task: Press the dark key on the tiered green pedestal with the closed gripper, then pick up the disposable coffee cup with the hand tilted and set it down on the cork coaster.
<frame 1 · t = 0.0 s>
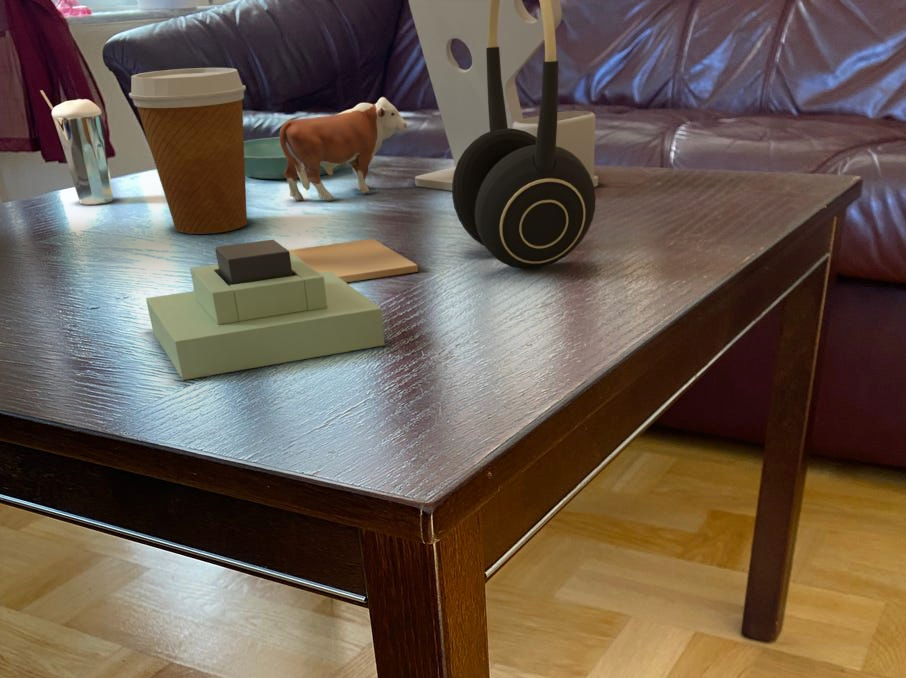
key: (254, 264, 60), point 4 cm above the table, slide at 0.1 cm
disposable coffee cup: (212, 228, 91), on the table
headphones: (522, 262, 77), on the table
bull figurine: (347, 196, 101), on the table
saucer: (291, 173, 114), on the table
milkshake: (93, 203, 103), on the table
phone holder: (505, 187, 102), on the table
tiered green pedestal: (265, 339, 63), on the table
coaster: (332, 266, 77), on the table
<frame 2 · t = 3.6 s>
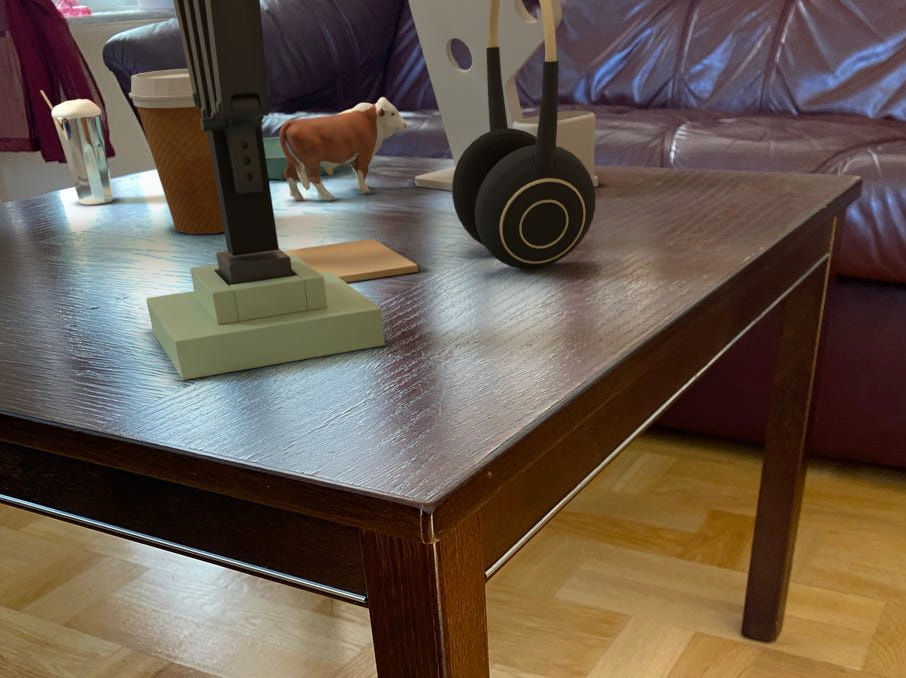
hand: (253, 249, 60), 5 cm above the table, tool pointing down, fingers closed
key: (254, 269, 60), point 4 cm above the table, slide at -0.3 cm, touching gripper
everything else where it was.
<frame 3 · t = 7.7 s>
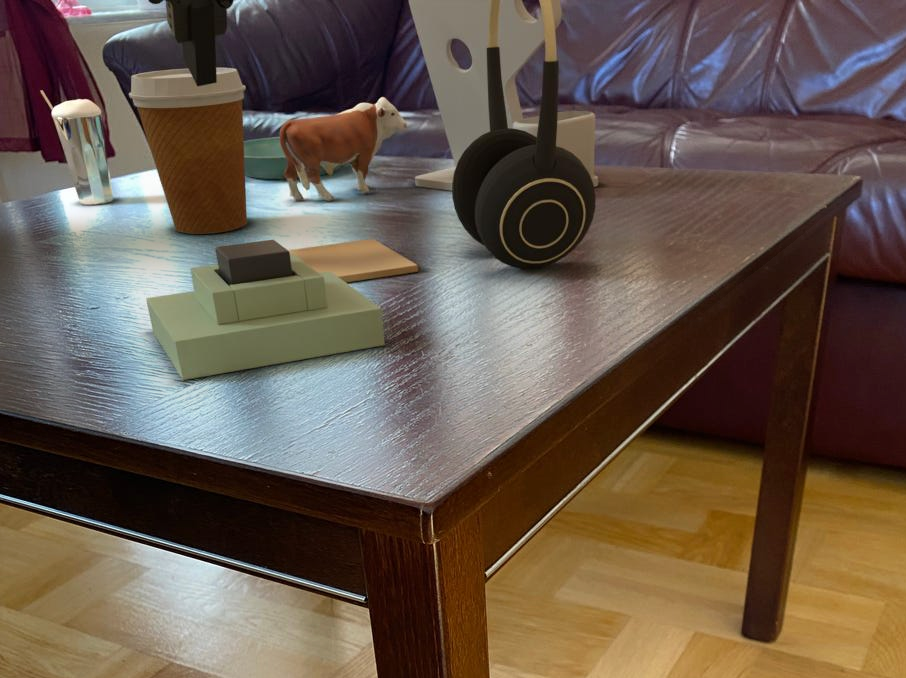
hand: (199, 69, 75), 13 cm above the table, tool tilted 40°, fingers closed
key: (254, 264, 60), point 4 cm above the table, slide at 0.1 cm
everything else where it was.
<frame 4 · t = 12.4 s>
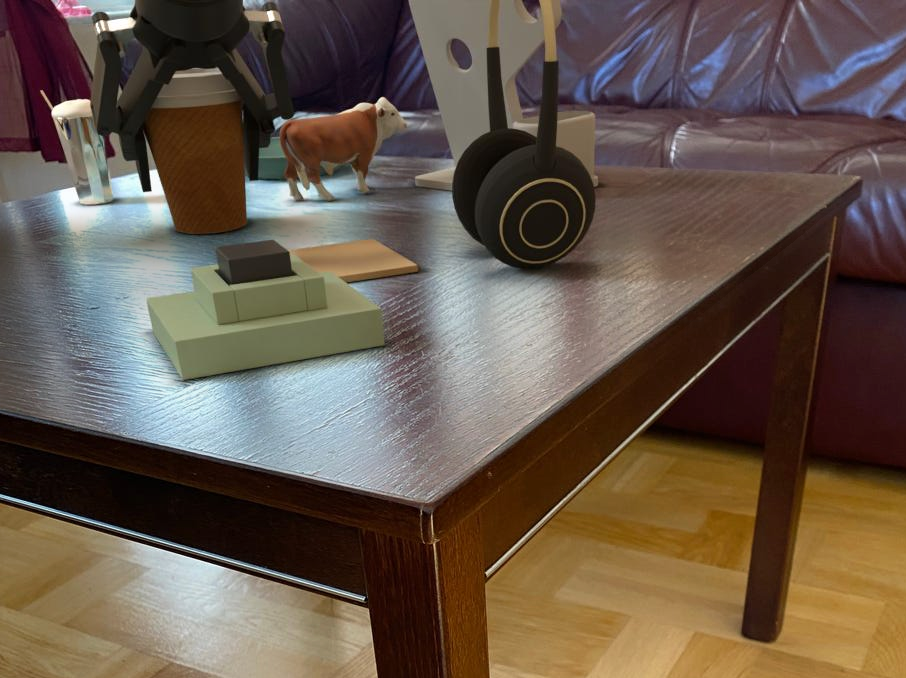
hand: (197, 173, 91), 4 cm above the table, tool tilted 45°, fingers closed on disposable coffee cup, 9 cm apart
disposable coffee cup: (212, 228, 91), on the table, touching gripper
everything else where it was.
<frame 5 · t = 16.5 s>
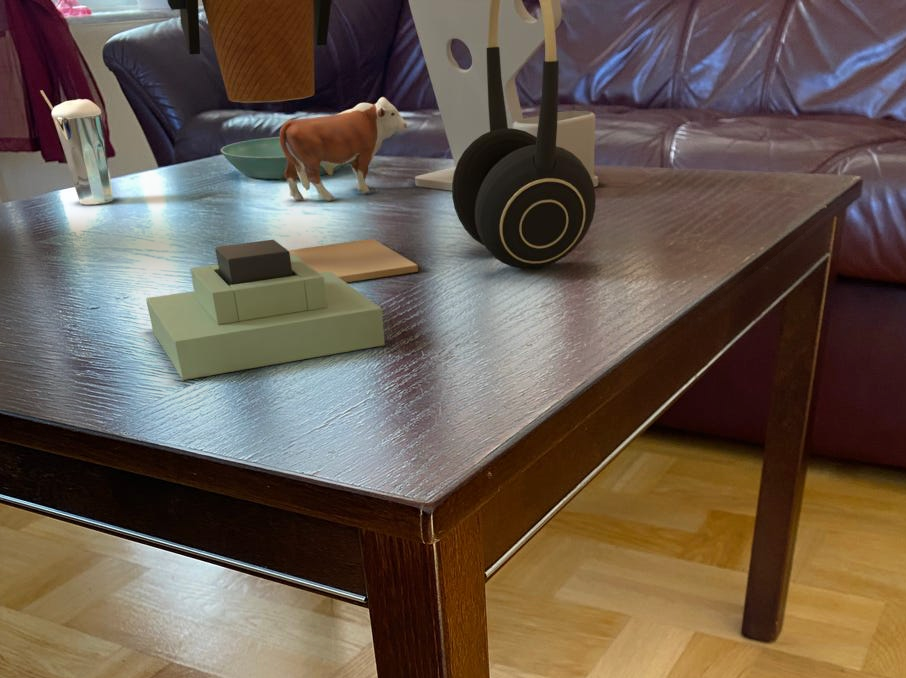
hand: (254, 34, 75), 15 cm above the table, tool tilted 45°, fingers closed on disposable coffee cup, 9 cm apart
disposable coffee cup: (272, 100, 75), point 11 cm above the table, touching gripper
everything else where it was.
when the fingers open (4 cm above the table, at t = 20.6 s): disposable coffee cup stays where it is, resting on coaster.
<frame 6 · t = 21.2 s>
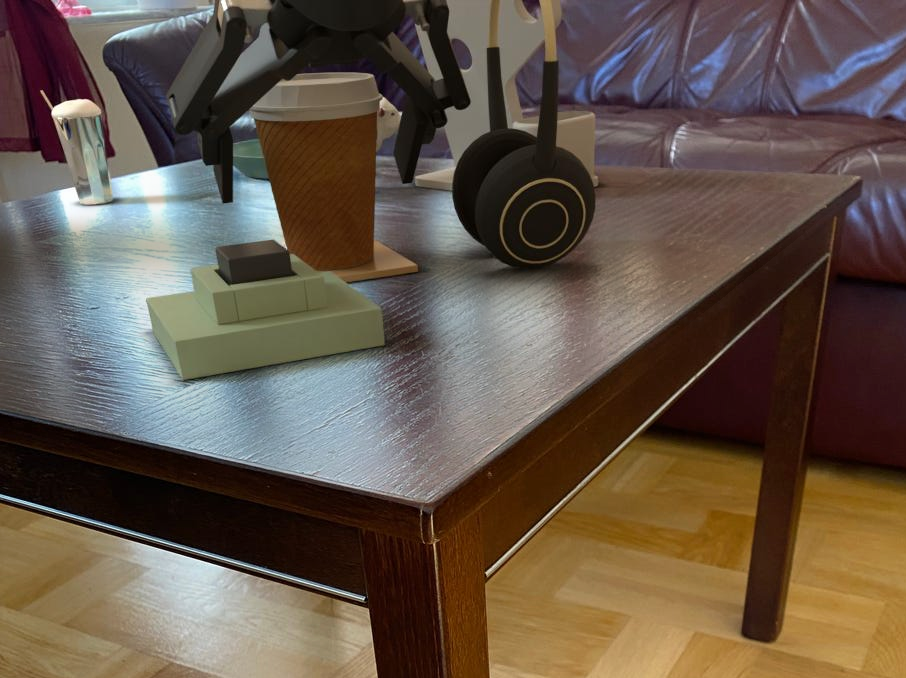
hand: (315, 177, 75), 6 cm above the table, tool tilted 45°, fingers open, 13 cm apart
disposable coffee cup: (332, 262, 77), resting on coaster
everything else where it was.
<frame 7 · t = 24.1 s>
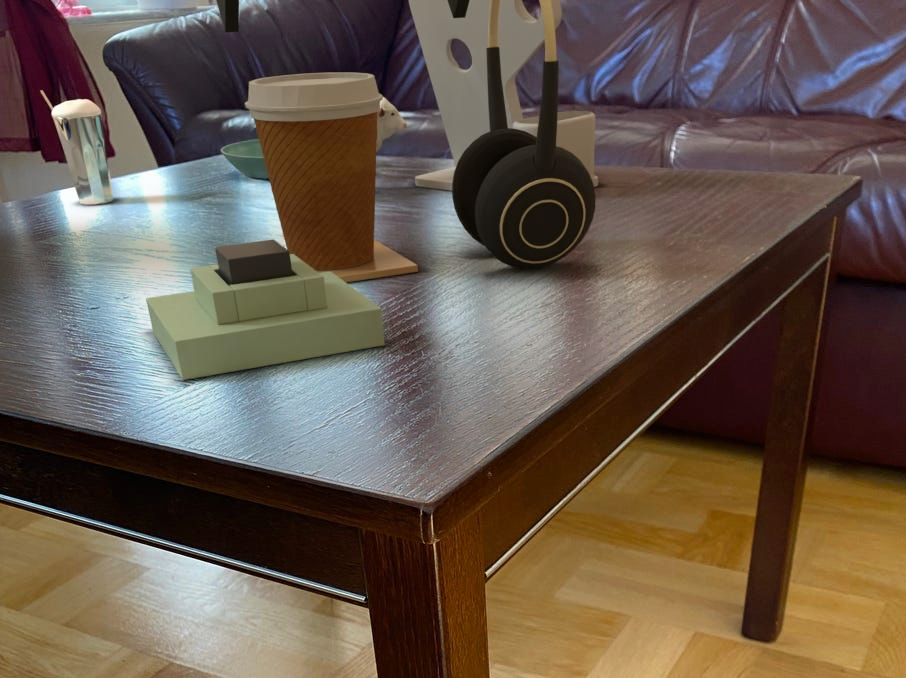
hand: (343, 5, 59), 17 cm above the table, tool tilted 45°, fingers open, 13 cm apart
nothing on the table moved.
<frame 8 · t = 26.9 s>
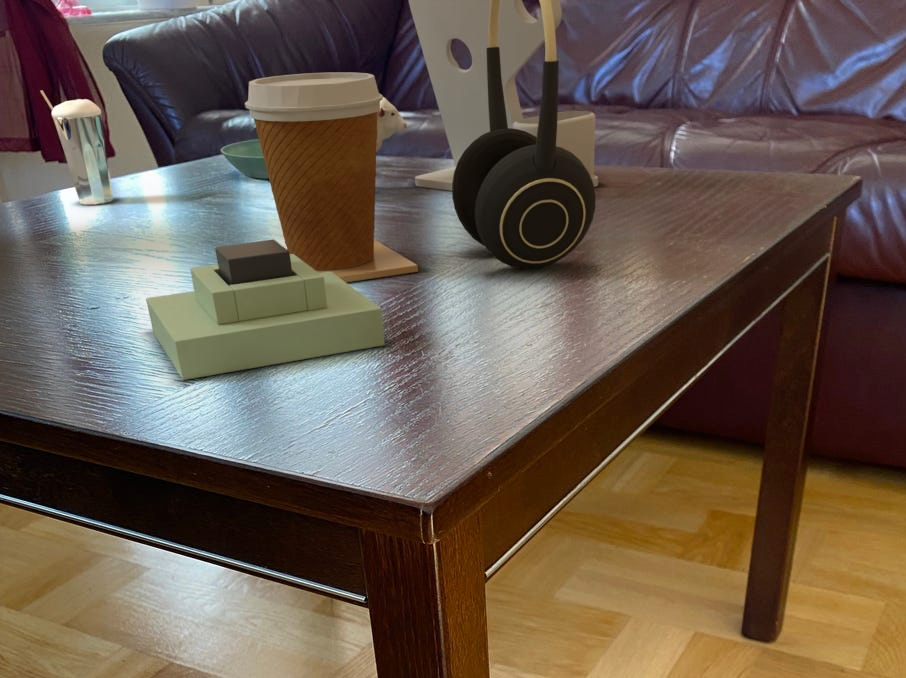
nothing on the table moved.
at the end: key pushed in 1.0 cm at the most during the clip, back to where it started at the end; disposable coffee cup inside the target area on the coaster (0.1 cm from its centre), point 0.3 cm above the coaster's base; disposable coffee cup tilted 0° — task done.
